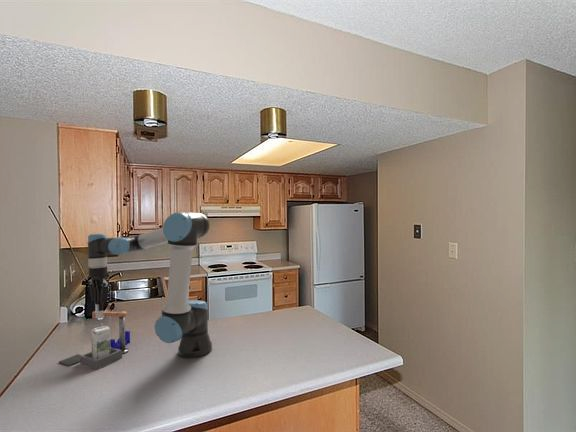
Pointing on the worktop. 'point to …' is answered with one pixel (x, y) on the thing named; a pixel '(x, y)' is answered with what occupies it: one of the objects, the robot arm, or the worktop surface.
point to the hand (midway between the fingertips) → (99, 317)
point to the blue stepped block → (117, 344)
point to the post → (122, 335)
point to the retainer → (110, 314)
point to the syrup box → (100, 342)
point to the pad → (71, 360)
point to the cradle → (101, 362)
